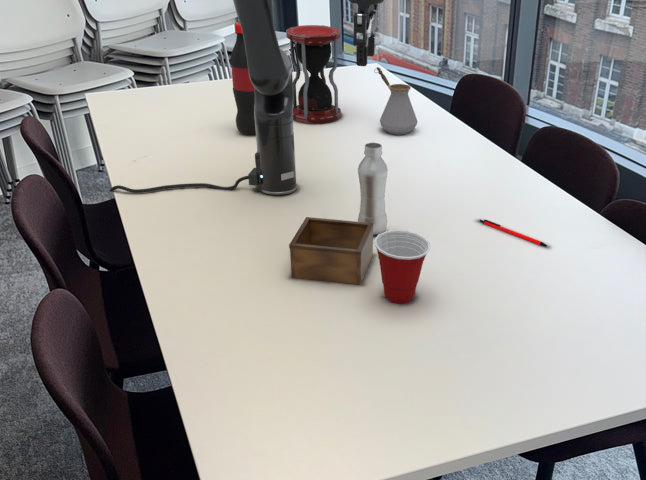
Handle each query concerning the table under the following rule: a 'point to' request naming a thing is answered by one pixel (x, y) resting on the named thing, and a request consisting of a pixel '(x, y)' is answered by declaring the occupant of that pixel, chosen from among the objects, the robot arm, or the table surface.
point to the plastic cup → (400, 263)
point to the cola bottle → (242, 86)
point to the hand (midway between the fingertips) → (365, 60)
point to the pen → (512, 232)
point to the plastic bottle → (373, 188)
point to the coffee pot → (398, 109)
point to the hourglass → (314, 73)
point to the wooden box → (331, 250)
